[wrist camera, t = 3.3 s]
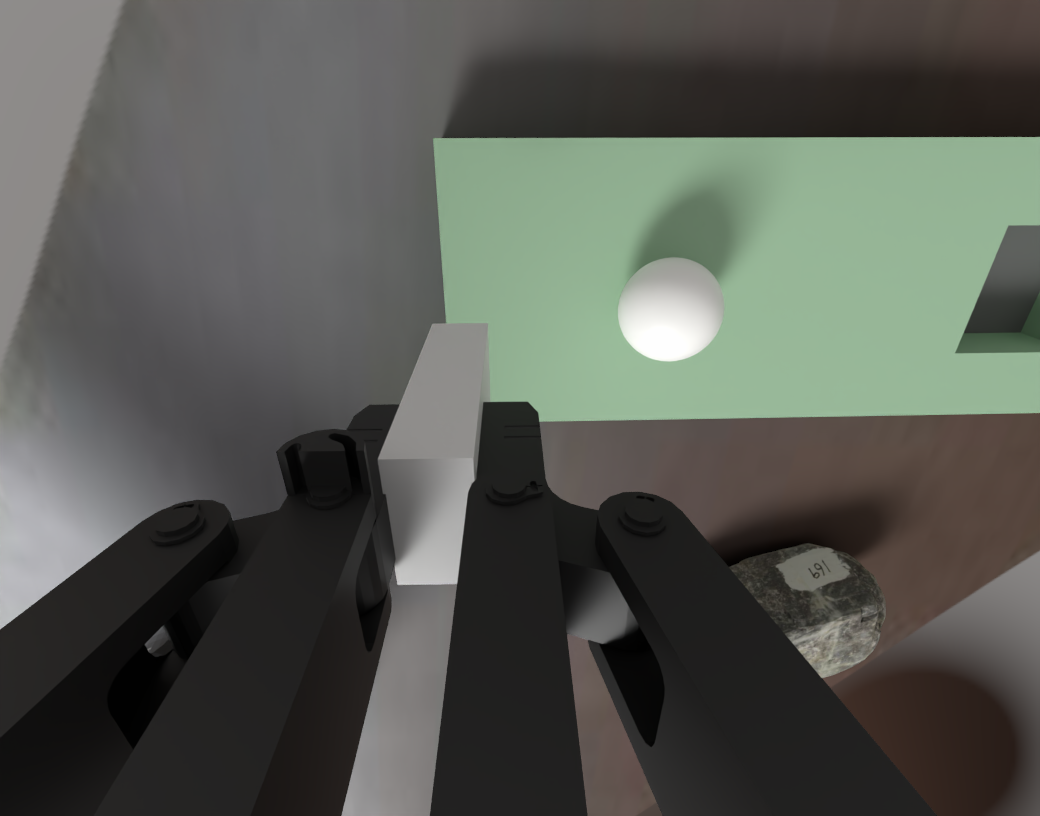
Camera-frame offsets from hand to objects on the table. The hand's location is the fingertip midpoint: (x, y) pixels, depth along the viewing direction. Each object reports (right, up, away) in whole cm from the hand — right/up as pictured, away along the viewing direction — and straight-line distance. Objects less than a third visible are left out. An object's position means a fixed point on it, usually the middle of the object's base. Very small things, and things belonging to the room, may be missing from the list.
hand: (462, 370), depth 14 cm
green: (+15, +5, +10) cm, 19 cm away
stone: (+16, -13, +20) cm, 29 cm away
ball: (+8, +3, +6) cm, 10 cm away
